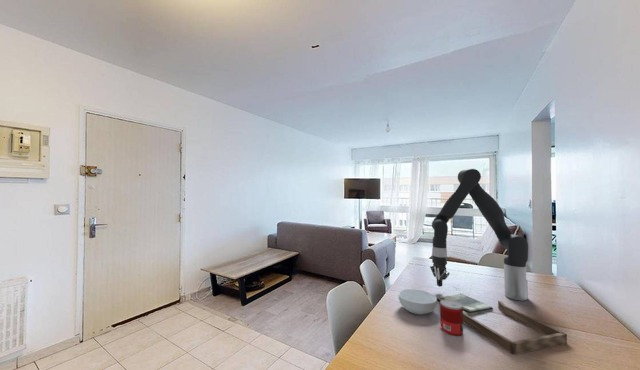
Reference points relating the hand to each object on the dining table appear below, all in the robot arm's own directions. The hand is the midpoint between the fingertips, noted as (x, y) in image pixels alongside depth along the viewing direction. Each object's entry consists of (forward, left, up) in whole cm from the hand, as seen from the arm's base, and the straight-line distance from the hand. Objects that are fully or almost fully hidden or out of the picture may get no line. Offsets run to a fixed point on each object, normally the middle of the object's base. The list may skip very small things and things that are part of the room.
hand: (439, 285), depth 135 cm
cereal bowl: (+25, +15, -4) cm, 30 cm away
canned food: (+22, +33, -4) cm, 40 cm away
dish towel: (0, +16, -4) cm, 16 cm away
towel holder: (0, +36, -3) cm, 37 cm away
